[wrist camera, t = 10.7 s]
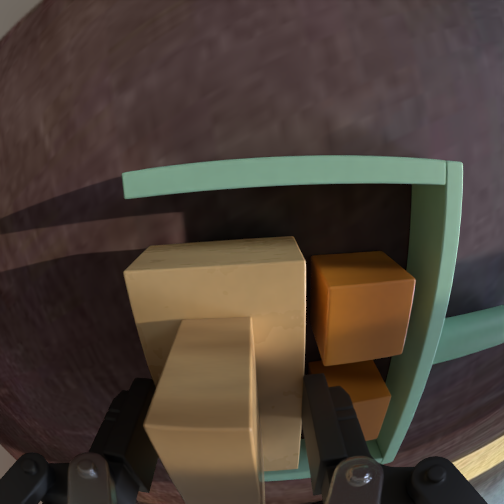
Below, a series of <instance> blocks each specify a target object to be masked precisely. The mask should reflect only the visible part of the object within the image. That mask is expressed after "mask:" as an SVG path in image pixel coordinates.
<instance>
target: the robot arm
mask: <svg viewBox="0 0 504 504" xmlns="http://www.w3.org/2000/svg"><path fill="white" fill-rule="evenodd" d="M155 389H156V388H155V385H154V382H153V380H152V379H151V378H135V379H134V381H133V383H132V385H131V387H130V389H129V391H126V390H123V391H122V392H121V393H119V394H118V395H117V396H116V397H115V398H114V399H113V401H112V403H111V405H110V407H109V409H108V410H109V411H108V412H107V414H106V416H105V420H103V422H102V424H101V426H100V428H99V431H98V433H97V435H96V437H95V439H94V442H93V444H92V446H91V448H90V450H89V452H86V453H82V454H79V455H77V456H76V457H74V458H73V459H72V461H71V462H70V463H48V462H47V461H46V459H45V458H44V457H43V456H42V455H40V454H38V453H27V454H24V455H22V456H21V457H20V458H19V459H18V460H17V461H16V462H15V463H14V464H13V466H12V467H11V468H10V469H9V470H8V471H7V472H6V473H5V475H4V476H3V477H2V478H1V479H0V504H38V503H39V502H40V500H41V501H42V502H43V503H42V504H139V503H138V501H137V499H136V498H137V494H138V491H141V492H147V493H149V491H150V487H151V483H152V479H153V475H154V471H155V467H156V464H157V460H158V455H157V453H156V451H155V449H154V447H153V445H152V443H151V442H150V440H149V438H148V435H147V433H146V431H145V429H144V427H143V423H144V420H145V417H146V415H147V412H148V409H149V406H150V403H151V400H152V398H153V395H154V392H155ZM301 420H302V426H303V432H304V438H305V445H306V451H307V457H308V464H309V470H310V476H311V483H312V489H313V495H320V494H322V499H323V504H487V502H486V501H485V500H484V499H483V498H482V497H481V496H480V494H479V493H478V492H477V491H476V490H475V489H474V487H473V486H472V485H471V484H470V483H469V482H468V481H467V479H466V478H465V477H464V476H463V475H462V474H461V473H460V471H459V470H458V469H457V468H456V467H455V466H454V465H453V464H452V463H451V462H450V461H449V460H448V459H445V458H443V457H437V456H435V457H428V458H426V459H423V460H422V461H420V462H419V463H418V464H417V465H416V466H415V467H389V466H385V465H382V464H380V463H378V462H377V461H376V460H375V459H374V458H373V457H372V456H371V454H370V452H369V450H368V447H367V444H366V441H365V438H364V435H363V432H362V429H361V426H360V423H359V420H358V418H357V415H356V412H355V409H354V406H353V403H352V400H351V398H350V395H349V394H348V393H347V392H346V391H345V390H344V389H343V388H342V387H341V386H333V387H328V384H327V381H326V377H325V375H324V373H319V374H310V375H304V376H303V396H302V415H301Z"/></svg>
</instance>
